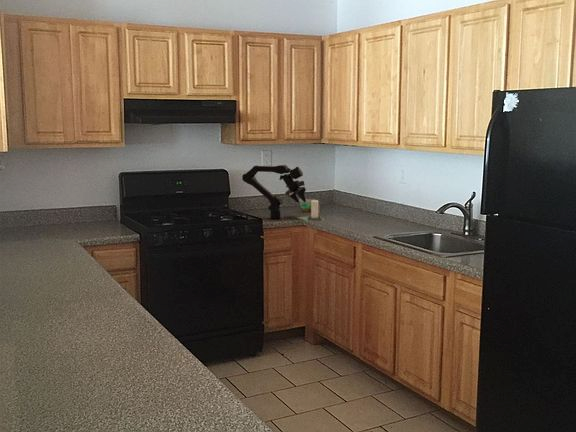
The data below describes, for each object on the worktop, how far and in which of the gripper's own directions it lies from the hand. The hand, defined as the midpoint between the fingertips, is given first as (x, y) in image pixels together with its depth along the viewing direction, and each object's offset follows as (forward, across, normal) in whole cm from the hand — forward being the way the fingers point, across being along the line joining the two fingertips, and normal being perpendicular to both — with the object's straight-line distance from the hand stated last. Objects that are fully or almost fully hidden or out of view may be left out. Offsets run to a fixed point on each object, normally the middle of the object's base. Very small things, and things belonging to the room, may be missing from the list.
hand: (301, 202), depth 434 cm
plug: (+13, -7, +2) cm, 14 cm away
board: (+12, -4, +3) cm, 13 cm away
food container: (+15, +23, -10) cm, 29 cm away
